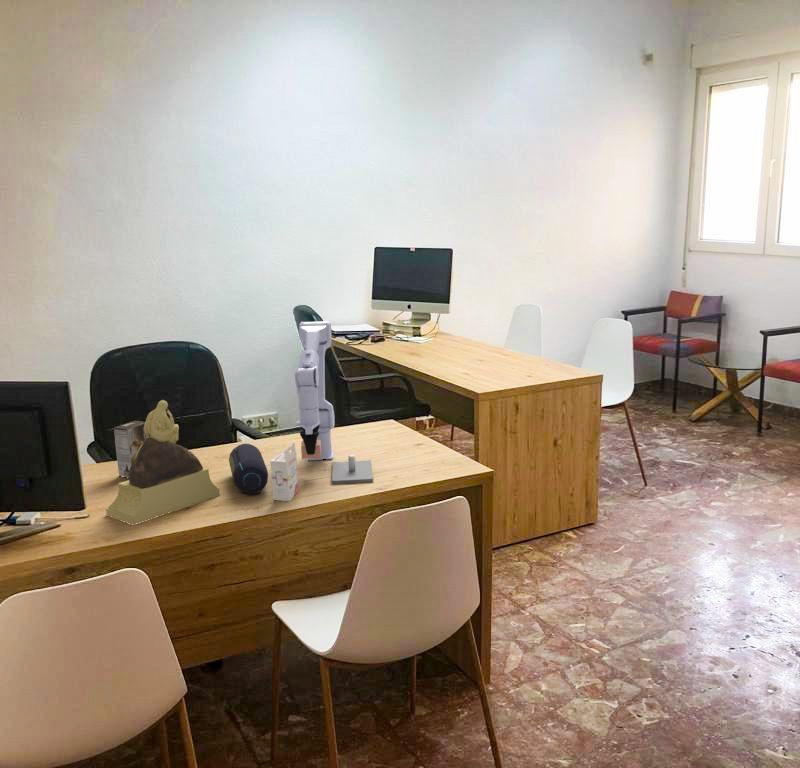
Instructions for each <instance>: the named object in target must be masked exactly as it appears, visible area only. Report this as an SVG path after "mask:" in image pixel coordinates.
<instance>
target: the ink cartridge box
mask: <svg viewBox="0 0 800 768" xmlns="http://www.w3.org/2000/svg"><path fill="white" fill-rule="evenodd" d="M269 462H270V471H271V472H270V473H271V485H272V497H273V501H274V500H278V501H277V502H280V501H279V500H282V501H281V502H291V500H292V499H293V498H294V497H295V496H294V495H297V494H298V493H299V492H300V491H299V490H300V489H299V475H298V460H297V451H296V445H295V442H293V443H292V444H291V445H289V446H288V447H287V448H286V449H285V450H284V452H282V451H281V452H279V453H278V454H277V455H276V456H275V457H273V458H272V459H271V460H270V461H269Z"/></svg>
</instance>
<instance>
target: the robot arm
mask: <svg viewBox="0 0 800 768" xmlns="http://www.w3.org/2000/svg"><path fill="white" fill-rule="evenodd" d="M298 325H299V326H298V333H299V334H298V335H299V336H298V337H299V339H300V342H301V345H302V347H303V348H304V351H303V352H302V353H301V354H300V358H299V365H298V369H296V370H295V371H294V383H295V385H296V393H297V394H298V395H297V396H298V411H299V412H298V413H299V420H297V421H296V422H295V424H296V426H300V428H301V429H302V431H300V432H299V436H300V437H301V439H302V441H304V444H305V448H306V452H307V454H308V455H311V454H315V447H316V440H320V442H321V458H311V459H307V461H322V460H323V459H326V460H333V459H334V449H332V436H331V434H332V433H331V430H333V429H334V428H335V411H334V406H333V404H332V403H330V402H329V401H328V400H327V399H326V379H325V378H326V377H325V374H326V371H325V369H326V368H325V367H326V366H325V365H326V364H325V359H326V358H325V356H326V351H327V349H329V348H331V347H332V323H331V322H330V320H326V321H300V322H299V324H298ZM323 461H324V460H323Z"/></svg>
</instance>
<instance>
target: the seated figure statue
mask: <svg viewBox="0 0 800 768" xmlns="http://www.w3.org/2000/svg"><path fill="white" fill-rule="evenodd" d="M168 406H169V404H168V402H167V401H166V400H164V399H162V400H160V401H158V403H157V405H156V407H155V409H153V410H152V411H150V412H149V413H148V414H147V416H146V418H145V421H144V422H145V425H144V431H145V434H146V438H147V439H146V440H145V442H144V443H143V444H142V445H141V446H140V447H139V449H138V452H137V456H136V459H135V460H134V461H133V463H132V465H131V467H130V470H129V479H127V480H125V481H122V482H118V485H117V486H118V492H117V496H116V498H115V499H114V501H113V502H111V504H109V506H108V507H107V508H105V513H106V516H107V515H109V516H112V517H114V518H113V519H115V518H116V519H115V520H117V519H119V520H118V521H120V520H122V521H125V522H128V523H130V524H133V525H134V524H136V523H139V522H142V521H145V520H148V519H151V518H154V517H156V516H160V515H162V514H165V515H167V514H166V513H168V512H171V511H174V512H176V511H178V510H177V509H179V510H181V509H180V508H182V509H184V507H185V508H188V507H190V506H193V505H195V504H200V503H202V502H204V501H207V500H210V499H212V497H213V498H215V496H216V497H218V496H220V495H221V493H220V488H218V487H217V486H216V485H215V484H214V483H213V481H212V480H211V475H210V473H209V468H206V467H203V465H202V463H201V462H200V460H199V458H198V457H197V456H196V455H195V454H194V453H193V452H192V451H191V450H190V451H189V449H188V448H187V447H184V446H182V445H180V444H177V442H178V441H179V429H180V427H179V424H177V423H175V421H174V417H173V414H172V413H171V411H170V410H169V409H168ZM168 415H169V416H168ZM149 434H150V437H149ZM209 498H210V499H209ZM206 499H207V500H206ZM201 501H202V502H201ZM189 505H190V506H189ZM187 506H188V507H187ZM175 510H176V511H175ZM171 513H172V512H171ZM168 514H169V513H168ZM109 516H108V517H109ZM162 516H163V515H162ZM112 517H111V518H112ZM160 517H161V516H160ZM154 519H155V518H154ZM151 520H152V519H151ZM122 521H121V522H122ZM148 521H149V520H148ZM125 522H124V523H125ZM128 523H127V524H128ZM130 524H129V525H130ZM133 525H132V526H133ZM134 526H135V525H134Z"/></svg>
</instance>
